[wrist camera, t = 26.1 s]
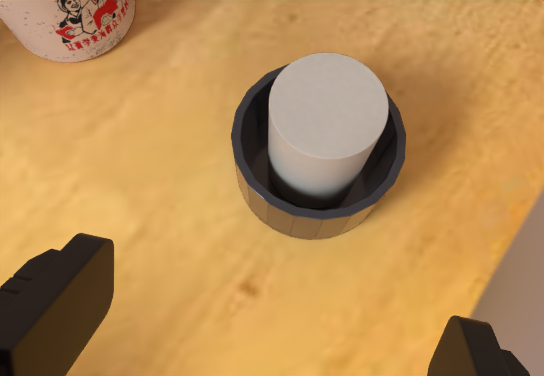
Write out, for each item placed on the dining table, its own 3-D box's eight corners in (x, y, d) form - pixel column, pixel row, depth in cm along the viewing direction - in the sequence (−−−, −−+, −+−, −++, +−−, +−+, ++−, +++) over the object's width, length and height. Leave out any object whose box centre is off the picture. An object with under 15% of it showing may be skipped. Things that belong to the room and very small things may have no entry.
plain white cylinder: (252, 148, 29) (248, 80, 22) (328, 112, 30) (349, 35, 23) (294, 224, 28) (305, 179, 20) (373, 183, 29) (411, 126, 21)
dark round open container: (212, 139, 30) (203, 101, 26) (336, 82, 32) (349, 36, 27) (280, 266, 28) (283, 251, 23) (411, 197, 29) (439, 169, 24)
